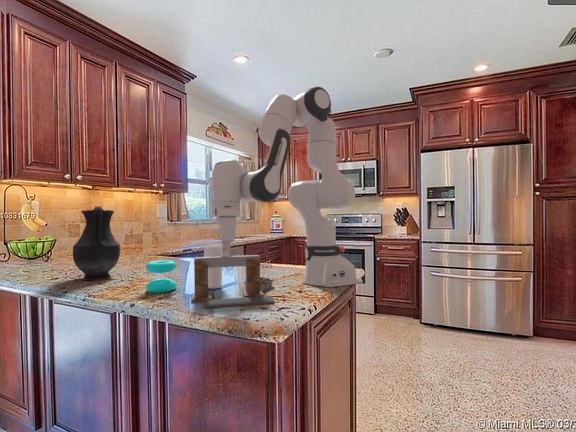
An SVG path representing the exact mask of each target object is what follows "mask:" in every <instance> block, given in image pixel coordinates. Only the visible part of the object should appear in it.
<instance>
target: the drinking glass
mask: <svg viewBox="0 0 576 432" xmlns="http://www.w3.org/2000/svg"><path fill="white" fill-rule="evenodd" d="M215 256H224V253H223V246H222V245H221V244H211V245H210V244H209V245H204V246H203V257H215ZM223 269H224V267H213V268H208V290H209V289H210V290H216V289H217V290H218V289H220V288H221V287H222V286H223V285H222V284H223V283H222V282H223V279H222V278H223Z"/></svg>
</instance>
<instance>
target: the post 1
mask: <svg viewBox="0 0 576 432" xmlns="http://www.w3.org/2000/svg"><path fill="white" fill-rule="evenodd" d="M193 265H194V266H193V267H194V268H193V269H194V270H193V271H194V294H192V295H191V298H190V303H205V300H213V298H212V293H210V292H209V288H208V260H199V261H193Z"/></svg>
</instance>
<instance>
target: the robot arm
mask: <svg viewBox="0 0 576 432" xmlns="http://www.w3.org/2000/svg"><path fill="white" fill-rule="evenodd" d="M331 102H332V101H331V98H330V94H329V93H328V92H327V90H326V89H325V88H324V87H322V86H314V87H311V88H309V89H307V90H305V91H304V92H302V93H300V94H298V95H296V96H295V97H294V98H293V97H291V96H290V95H288V94H283V93H282V94H277V95H275V97H273V99H272V100H271V101H270V102H269V104H268V106H267V108H266V109H265V111H264V113H263V115H262V118H261V119H260V123H259V124H258V125H259V126H258V129H257V133H258V136H259V139H260V141H261V142H263V144H265V145H266V146H268V147H269V148H268V152H267V155H266V158H265V162H264V164H263V166H262V167H261V168H260V169H258V170H257V171H251V170H248V169H246V168H245V167H244V166H243V165H241V164H240V163H239V161H238V160H236V159H226V160H221V161H218V162H216V163H215V164H214V165H213V170H212V176H211V179H212V180H211V189H212V193H213V194H212V196H213V197H212V199H211V216H212V218H213V217H215V222H216V223H218V224H219V239H220V240H221V242H222V243H221V244H222V246H223V256H225V257H230V256H231V249H232V243H234V241H235V239H236V232H237V231H236V229H237V221H238V219H237V218H238V217H241V201H242V202H246V203H248V202H249V203H251V202H253V203H255V202H264V203H269V202H273V201H275V200H276V199H277V198H278V197H279V195H280V193H281V190H282V180H283V174H284V172H283V171H284V169H285V165H286V161H287V157H288V154H289V150H290V145H291V136H290V135H291V131H292V129H295V130H297V129H301V128H303V127H306V129H307V134H308V135H307V136H308V137H307V161H306V162H307V165H308V167H309V168H310V169H311V170H312V171H315V172H316V173H319V174H321V179H314V180H302V181H297V182H294V183H292V184H291V185H290V186H289V188H288V192H287V199H288V202H289V203H290V205H291V206H292V208H295V209H296V210H297V211H298V212H299V213H300V216H301V217H302V219H303V221H304V225H305V233H306V244H305V249H304V252H305V253H304V255H305V261H306V262H305V270H304V276H303V279H302V283H304V284H305V285H309V286H317V287H324V288H325V287H326V288H334V287H341V286H342V287H345V286H351V285H359V284H360V285H361V284H363V279H362V278H361V277H358V276H357V271H356V268H355V265H354V264H353V263H351V262H350V261H349V260H347V258H345V257H344V256H342V254H341V253H344V252H345V251H346V248H345V246H338V245H337V243H336V241H337V240H336V238H337V235H336V234H337V232H336V231H337V229H336V224H335V223H334V222H333V221H332V220H331V219H328V218H327V217H325V216H323V215H322V212H321V210H322V209H324V210H325V209H327V210H329V209H331V210H332V209H342V208H347V207H350V206H351V205H352V204H353V203H354V201H355V198H356V190H355V187H354V185H353V183H352V182H351V181H349V180H348V179H347V178H346V177H345V176H344V175H343V174H342V173H341V171H340V169H339V167H338V161H337V160H338V159H337V133H336V132H337V131H336V125H335V121H334V120H333V118H331V114H332V103H331Z"/></svg>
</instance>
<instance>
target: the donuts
mask: <svg viewBox="0 0 576 432" xmlns="http://www.w3.org/2000/svg"><path fill="white" fill-rule="evenodd" d="M176 268H177V263H176V261H174V260H168V259H163V260H162V259H161V260H160V259H159V260H152V261H148V262H147V263H146V264H145V269H146V271H148V272H149V273H151V274H167V273H170V272H172V271H174V270H175V269H176ZM176 288H177V282H176V281H175V280H173V278H172V279H171V278H156V279H152V280H150V281H148V282H147V284H146V285H145V290H146V291H147V292H149V293H153V294H154V293H155V294H159V293H160V294H161V293H168V292H171V291H173V290H175V289H176Z"/></svg>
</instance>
